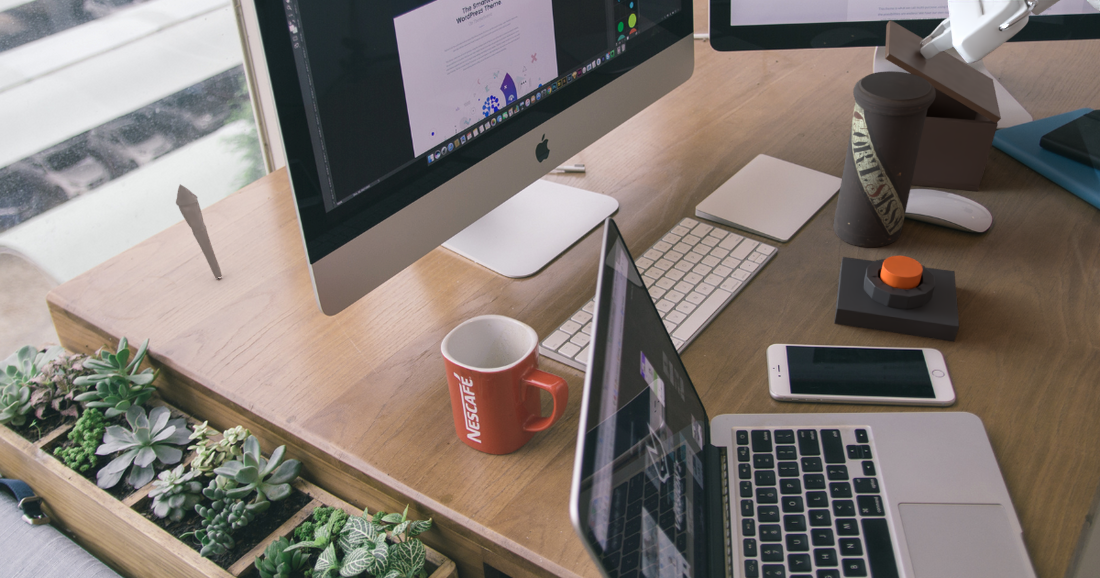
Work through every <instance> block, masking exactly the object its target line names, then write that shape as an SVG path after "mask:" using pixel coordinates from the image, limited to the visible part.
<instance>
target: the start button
mask: <svg viewBox="0 0 1100 578" xmlns="http://www.w3.org/2000/svg"><path fill="white" fill-rule="evenodd" d="M884 259H885V260H884V262H883V265H882V270H881V274H880V278H881V280H882V282H883V283H885V284H887V285H889V286H891V287H893V288H898V289H906V290H907V289H912V288H916V287H917V286H918V285H919V283H920V279H921V275H922V271H923V267H922V265H923V264H921V262H919V261H917V260H916V259H914V258H912V257H909V256H905V255H892V256H889V257H886V258H884Z"/></svg>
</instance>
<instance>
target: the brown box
mask: <svg viewBox="0 0 1100 578" xmlns="http://www.w3.org/2000/svg"><path fill="white" fill-rule="evenodd" d="M934 89H935V94H936V96H935V99H934V101H933V103H932V104H931V105H930V106H929V108H928V109H927V114H926V118H925V123H924V127H923V132H922V136H921V140H920V145H919V150H918V155H917V160H916V165H915V169H914V174H913V179H912V183H911V186H919V187H929V188H938V189H950V190H958V191H969V192H979V189H980V186H981V183H982V180H983V176H984V173H985V168H986V166H987V162H988V159H989V155H990V152H991V148H992V145H993V142H994V139H995V137H996V132H997V128H998V125H999V122H997V123H995V122H993V121H992V120H990V119H988V118H986V117H985V116H983V115H981V114H980V113H978V112H976V111H974V110H973V109H971V108H969V107H967V106H966V105H964V104H962V103H961V102H959V101H957V100H955V99H954V98H952V97H950V96H948V95H947V94H945V93H943V92H942V91H940V90H938V89H936V88H935V87H934Z"/></svg>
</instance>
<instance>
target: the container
mask: <svg viewBox="0 0 1100 578" xmlns="http://www.w3.org/2000/svg"><path fill="white" fill-rule="evenodd" d="M852 93H853V98H854V107H853V114H852V120H851V126H850V132H849V136H848V143H847V148H846V153H845V160H844V166H843V170H842V175H841V176H842V177H841V182H840V187H839V192H838V196H837V198H838V199H837V202H836V206H835V212H834V216H833V217H834V218H833V224H832V228H833V232H834V234H835V235H836V236H837V237H838V238H839V239H840V240H842V241H843V242H845V243H847V244H849V245H853V246H856V247H863V248H879V247H884V246H889V245H891V244H893V243H894V242H896V241H898V239H899V238H900V236H901V234H902V230H903V227H904V223H905V217H906V212H907V207H908V202H909V198H910V193H911V188H912V185H911V183H912V179H913V174H914V169H915V165H916V160H917V155H918V150H919V145H920V140H921V136H922V132H923V127H924V123H925V118H926V114H927V109H928V108H929V106H930V105H931V104H932V103H933V101H934V99H935V96H936V94H935V89H934V87H933V86H932V85H931V84H930V83H929V82H928V81H927V80H925V79H924V78H922V77H919V76H917V75H914V74H911V73H909V72H905V71H904V72H903V71H893V70H892V71H891V70H888V71H878V72H873V73H870V74H868V75H865V76H864V77H862V78H861V79H859V80H858V81H857V82H856V83H855V84H854V86H853V92H852Z"/></svg>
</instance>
